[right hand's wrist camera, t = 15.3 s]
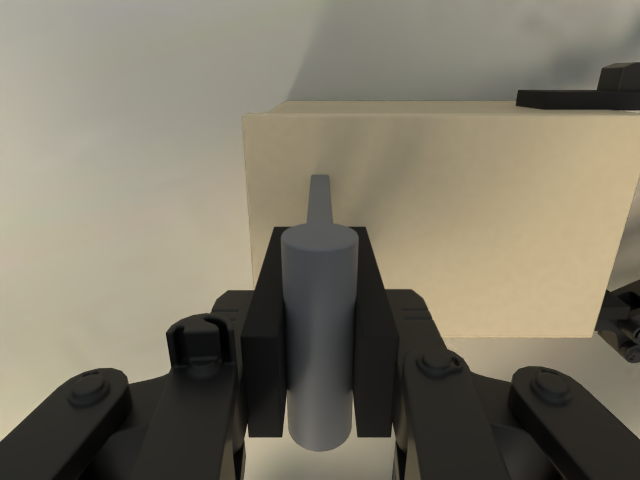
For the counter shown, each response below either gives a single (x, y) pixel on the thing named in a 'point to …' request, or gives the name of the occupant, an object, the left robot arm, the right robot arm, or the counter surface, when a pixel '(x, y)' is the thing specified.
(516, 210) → the lid
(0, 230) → the counter surface
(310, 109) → the chest
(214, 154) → the counter surface
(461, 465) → the right robot arm
